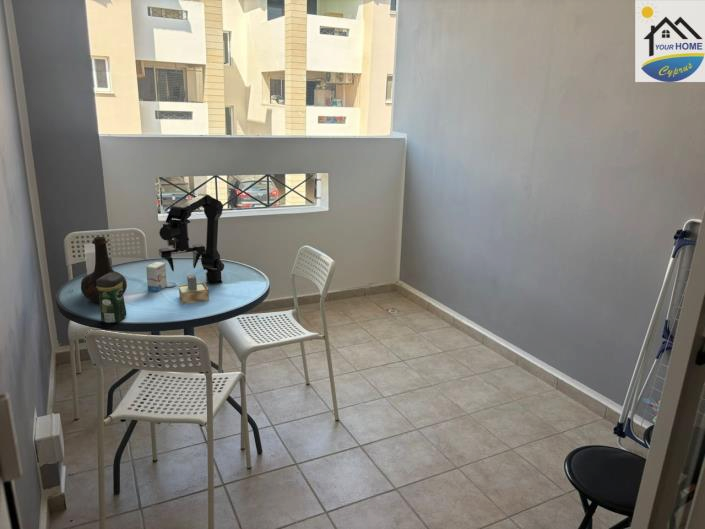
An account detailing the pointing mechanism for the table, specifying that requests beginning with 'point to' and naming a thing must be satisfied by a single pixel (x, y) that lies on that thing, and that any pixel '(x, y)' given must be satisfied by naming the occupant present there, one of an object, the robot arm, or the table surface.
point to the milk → (90, 257)
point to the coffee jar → (111, 298)
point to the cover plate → (185, 288)
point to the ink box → (156, 276)
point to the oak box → (194, 295)
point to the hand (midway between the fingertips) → (183, 269)
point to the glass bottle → (99, 271)
